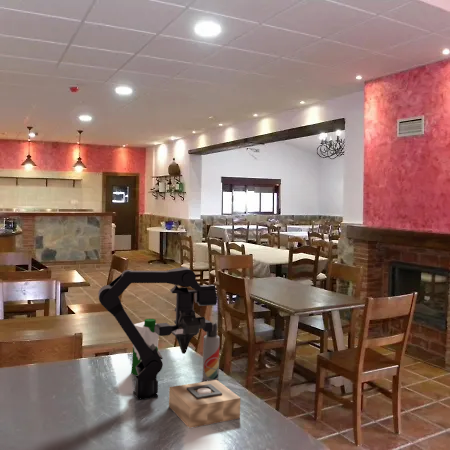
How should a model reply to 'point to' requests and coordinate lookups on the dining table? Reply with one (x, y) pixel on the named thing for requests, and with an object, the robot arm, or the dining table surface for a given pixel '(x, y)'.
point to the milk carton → (150, 338)
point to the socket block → (204, 403)
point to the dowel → (203, 391)
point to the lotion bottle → (211, 355)
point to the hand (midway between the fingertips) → (183, 353)
